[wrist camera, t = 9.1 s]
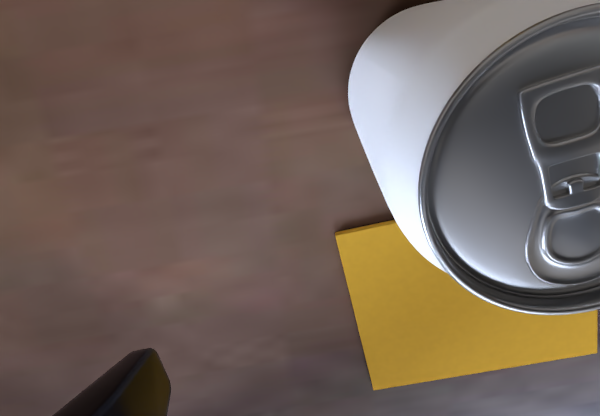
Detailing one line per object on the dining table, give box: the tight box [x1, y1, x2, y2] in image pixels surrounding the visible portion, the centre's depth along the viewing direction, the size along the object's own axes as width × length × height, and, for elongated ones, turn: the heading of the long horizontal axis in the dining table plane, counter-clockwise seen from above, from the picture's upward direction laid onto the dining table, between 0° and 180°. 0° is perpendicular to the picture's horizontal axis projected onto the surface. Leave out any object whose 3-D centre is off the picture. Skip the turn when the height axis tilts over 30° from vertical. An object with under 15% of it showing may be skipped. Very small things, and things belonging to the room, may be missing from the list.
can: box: [348, 0, 600, 315], centre depth 13 cm, size 6×6×12 cm
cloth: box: [335, 220, 598, 390], centre depth 22 cm, size 10×12×1 cm
